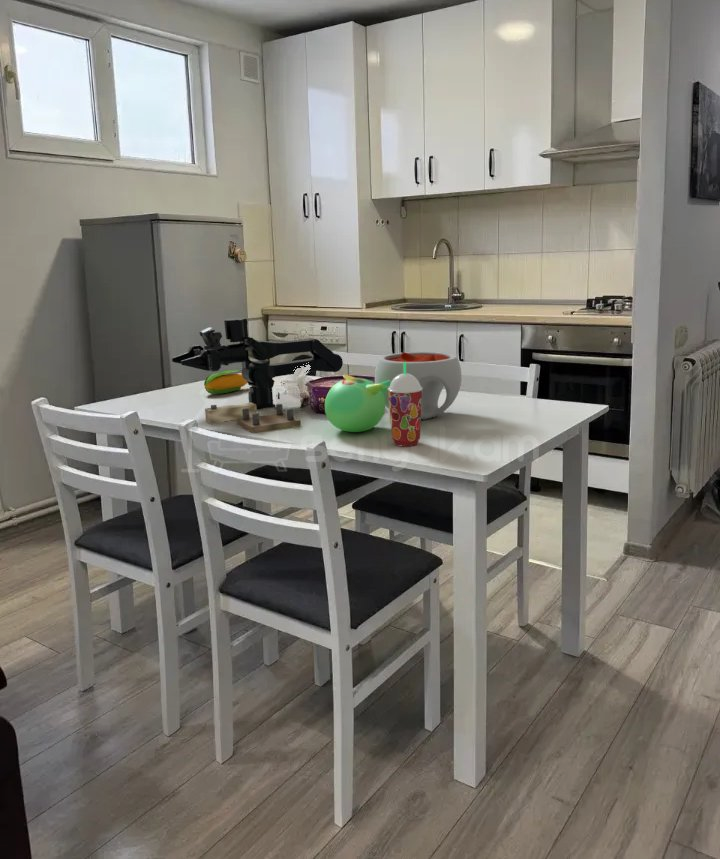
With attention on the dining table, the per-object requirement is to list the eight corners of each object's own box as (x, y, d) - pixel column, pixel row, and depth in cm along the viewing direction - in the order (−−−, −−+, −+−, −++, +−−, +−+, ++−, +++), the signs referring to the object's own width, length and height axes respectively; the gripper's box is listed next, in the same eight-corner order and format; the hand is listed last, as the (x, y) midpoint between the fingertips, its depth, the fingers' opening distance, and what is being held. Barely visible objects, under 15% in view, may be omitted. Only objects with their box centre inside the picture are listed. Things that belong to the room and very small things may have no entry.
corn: (197, 373, 256) (242, 364, 270) (198, 395, 258) (243, 385, 273) (211, 376, 251) (257, 367, 266) (212, 398, 253) (257, 389, 268)
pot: (400, 405, 231) (399, 346, 227) (474, 411, 219) (475, 349, 215) (360, 421, 211) (358, 357, 207) (439, 429, 199) (438, 361, 195)
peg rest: (283, 417, 219) (282, 402, 218) (300, 425, 208) (299, 409, 207) (237, 424, 212) (236, 408, 211) (252, 432, 202) (251, 416, 201)
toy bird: (333, 422, 211) (331, 370, 207) (394, 423, 208) (392, 369, 204) (319, 438, 193) (316, 381, 190) (385, 439, 191) (384, 381, 187)
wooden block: (252, 415, 224) (251, 399, 223) (257, 418, 221) (256, 401, 220) (205, 422, 218) (204, 405, 217) (210, 424, 214) (208, 407, 213)
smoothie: (421, 438, 190) (420, 358, 185) (425, 447, 182) (424, 364, 177) (387, 440, 190) (385, 360, 185) (390, 448, 181) (388, 365, 177)
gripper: (214, 325, 234) (164, 331, 226) (235, 329, 218) (182, 335, 210) (218, 361, 236) (169, 368, 229) (240, 367, 220) (187, 375, 213)
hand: (176, 361), depth 220 cm, fingers open, 9 cm apart
